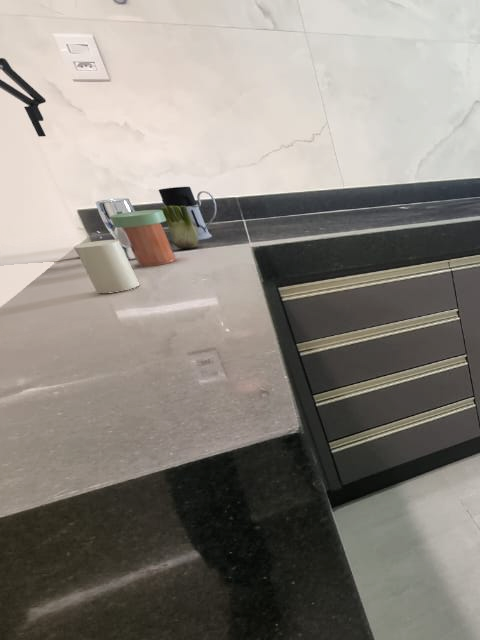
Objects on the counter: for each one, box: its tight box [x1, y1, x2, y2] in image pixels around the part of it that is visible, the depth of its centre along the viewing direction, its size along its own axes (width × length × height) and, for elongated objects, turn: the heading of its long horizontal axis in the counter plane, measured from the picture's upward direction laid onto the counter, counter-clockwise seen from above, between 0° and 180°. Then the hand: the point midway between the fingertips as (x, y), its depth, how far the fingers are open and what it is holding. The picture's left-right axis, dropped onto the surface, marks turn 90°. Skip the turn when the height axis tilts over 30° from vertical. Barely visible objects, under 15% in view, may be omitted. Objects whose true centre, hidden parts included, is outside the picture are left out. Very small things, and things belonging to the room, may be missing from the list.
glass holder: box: [158, 186, 217, 241], centre depth 161 cm, size 9×14×15 cm, turn 96°
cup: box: [122, 222, 177, 267], centre depth 134 cm, size 7×7×10 cm
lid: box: [110, 209, 167, 228], centre depth 132 cm, size 10×10×2 cm
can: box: [73, 239, 140, 294], centre depth 113 cm, size 7×7×10 cm
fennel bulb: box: [160, 206, 199, 250], centre depth 148 cm, size 6×5×12 cm
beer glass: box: [94, 197, 136, 261], centre depth 140 cm, size 7×7×15 cm
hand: (1, 138), depth 122 cm, fingers open, 13 cm apart
